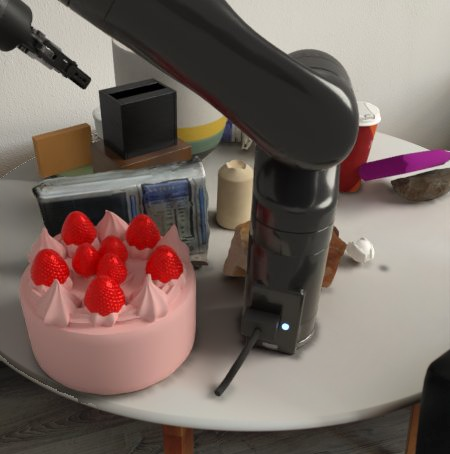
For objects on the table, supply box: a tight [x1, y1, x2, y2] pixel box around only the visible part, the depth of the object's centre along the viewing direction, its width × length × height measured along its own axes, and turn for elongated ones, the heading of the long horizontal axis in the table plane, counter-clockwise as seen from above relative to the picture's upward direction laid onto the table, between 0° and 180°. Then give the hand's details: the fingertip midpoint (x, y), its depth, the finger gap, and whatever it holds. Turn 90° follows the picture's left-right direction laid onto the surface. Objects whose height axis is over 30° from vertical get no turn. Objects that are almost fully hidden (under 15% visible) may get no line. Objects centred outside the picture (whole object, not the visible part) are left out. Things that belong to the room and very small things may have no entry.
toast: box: [31, 122, 93, 179], centre depth 100 cm, size 7×2×10 cm
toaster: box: [98, 78, 177, 160], centre depth 84 cm, size 9×7×8 cm
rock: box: [390, 167, 450, 202], centre depth 101 cm, size 14×5×10 cm
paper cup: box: [339, 100, 382, 194], centre depth 99 cm, size 8×8×14 cm
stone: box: [221, 221, 348, 289], centre depth 78 cm, size 14×9×15 cm
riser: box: [90, 137, 191, 174], centre depth 90 cm, size 12×9×12 cm
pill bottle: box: [219, 119, 242, 143], centre depth 113 cm, size 5×5×9 cm
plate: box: [55, 164, 93, 178], centre depth 104 cm, size 9×9×1 cm
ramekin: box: [92, 105, 103, 140], centre depth 114 cm, size 9×9×4 cm
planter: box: [111, 38, 227, 160], centre depth 101 cm, size 20×20×21 cm
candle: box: [215, 159, 254, 230], centre depth 90 cm, size 6×6×10 cm
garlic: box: [345, 237, 375, 264], centre depth 85 cm, size 5×3×5 cm
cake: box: [18, 210, 197, 396], centre depth 67 cm, size 20×20×14 cm
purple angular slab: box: [359, 148, 450, 182], centre depth 101 cm, size 3×11×24 cm
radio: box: [31, 156, 211, 268], centre depth 79 cm, size 23×9×15 cm, turn 94°
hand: (74, 76), depth 94 cm, fingers open, 8 cm apart
